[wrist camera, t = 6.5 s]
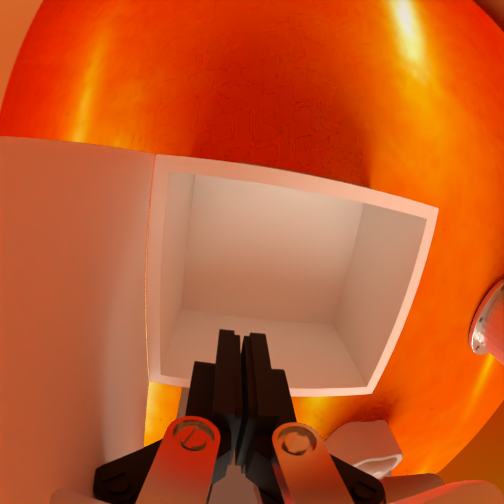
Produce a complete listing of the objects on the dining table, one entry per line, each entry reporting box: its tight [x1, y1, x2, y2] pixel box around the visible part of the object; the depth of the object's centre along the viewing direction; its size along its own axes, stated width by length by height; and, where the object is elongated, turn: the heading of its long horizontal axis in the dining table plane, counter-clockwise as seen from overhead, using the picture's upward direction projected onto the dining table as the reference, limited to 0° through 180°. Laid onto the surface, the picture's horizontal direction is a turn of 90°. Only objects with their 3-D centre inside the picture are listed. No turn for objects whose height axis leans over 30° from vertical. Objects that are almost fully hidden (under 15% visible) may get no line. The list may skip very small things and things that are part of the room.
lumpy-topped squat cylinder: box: [324, 420, 403, 479], centre depth 31 cm, size 10×13×9 cm
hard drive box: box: [176, 387, 258, 504], centre depth 20 cm, size 16×8×20 cm, turn 5°
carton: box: [146, 154, 439, 397], centre depth 20 cm, size 16×14×10 cm
